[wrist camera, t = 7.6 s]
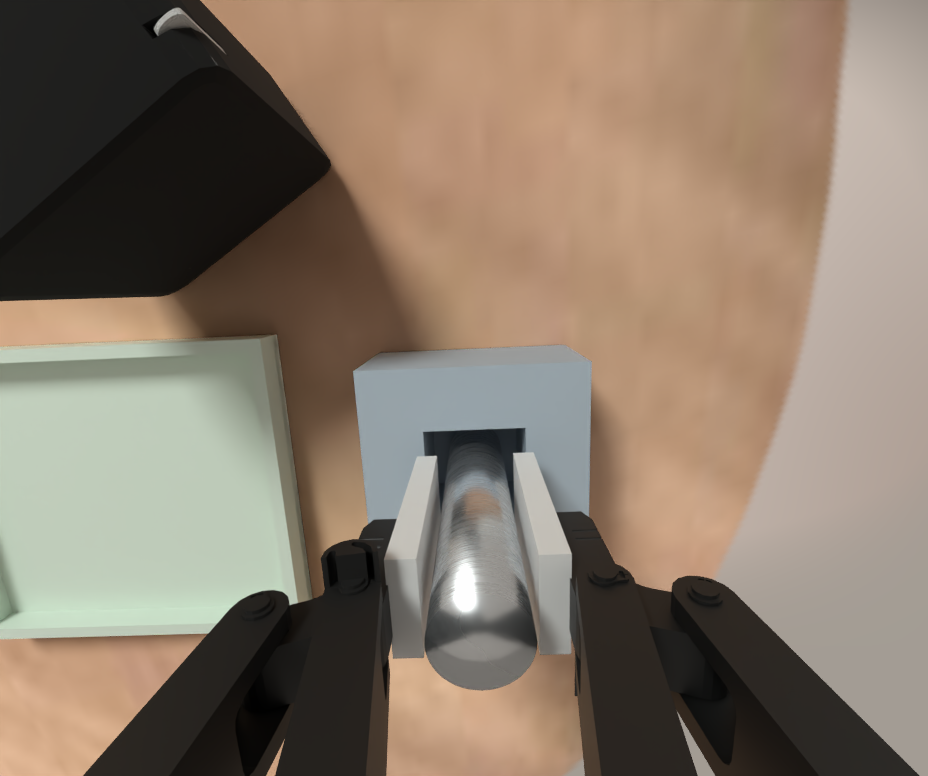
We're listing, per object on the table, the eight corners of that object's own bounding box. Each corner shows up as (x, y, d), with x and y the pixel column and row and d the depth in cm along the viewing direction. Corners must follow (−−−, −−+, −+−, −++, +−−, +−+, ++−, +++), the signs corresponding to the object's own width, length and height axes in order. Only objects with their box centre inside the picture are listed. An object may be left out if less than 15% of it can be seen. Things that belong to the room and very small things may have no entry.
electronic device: (113, 222, 21) (-202, 164, 11) (278, 82, 20) (84, -123, 10) (174, 297, 22) (-70, 306, 12) (337, 168, 20) (213, 56, 10)
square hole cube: (379, 352, 22) (353, 371, 17) (564, 344, 22) (591, 361, 17) (393, 520, 24) (373, 580, 19) (563, 515, 24) (587, 574, 19)
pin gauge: (448, 424, 21) (421, 595, 9) (500, 422, 21) (536, 592, 9) (451, 472, 22) (428, 691, 10) (501, 470, 22) (537, 689, 10)
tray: (-67, 349, 22) (-113, 355, 21) (276, 334, 22) (259, 338, 20) (13, 615, 26) (-20, 639, 24) (313, 606, 25) (301, 630, 23)
